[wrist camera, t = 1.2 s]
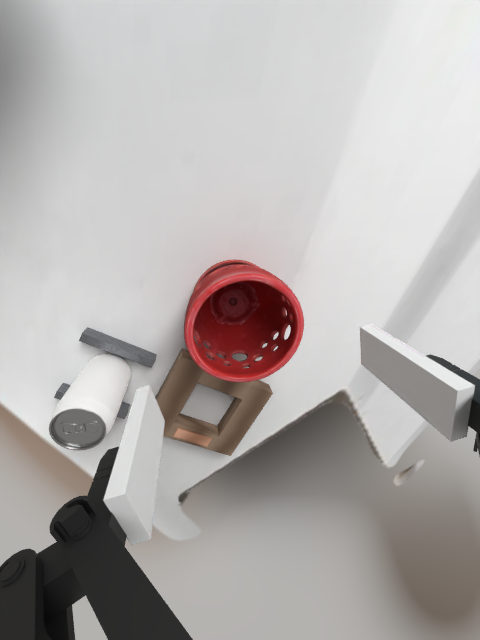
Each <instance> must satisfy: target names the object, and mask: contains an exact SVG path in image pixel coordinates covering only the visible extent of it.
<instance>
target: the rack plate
mask: <svg viewBox="0 0 480 640" xmlns="http://www.w3.org/2000/svg"><path fill="white" fill-rule="evenodd" d="M197 383H200V384H202V385H205V386H208V387H210V388H213V389H216V390H218V391H221V392H224V393H226V394H229V395H231V396H234V397H235V399H234V400H233V402H232V404H231V405H230V407H229V408H228V410H227V412H226V413H225V415H224V416H223V418H222V419H221V421H220V423H219V424H218V426H216V425H213V424H210V423H207V422H204V421H201V420H198V419H195V418H192V417H189V416H186V415H183V414H180V411H181V410H182V408H183V406H184V404H185V403H186V401H187V399H188V398H189V396H190V394H191V393H192V391H193V389H194V387H195V386H196V384H197ZM272 394H273V393H272V391H271V389H270V386H269V384H266V383H264V382H261V381H259V380H255V381H250V382H230V381H225V380H221V379H219V378H216V377H214V376H212V375H210V374H208V373H206V372H205V371H204V370H202V369H201V368H200V367H199V366H198V365H197V364H196V363H195V361H194V360H193V359H192V357H191V355H190V354H189V352H188V351H187V350H184V349H182V350H181V352H180V353H179V355H178V357H177V359H176V361H175V363H174V364H173V366H172V368H171V370H170V372H169V374H168V375H167V377H166V379H165V381H164V383H163V385H162V386H161V388H160V390H159V392H158V394H157V395H156V397H155V398H156V401H157V403H158V406H159V408H160V410H161V413H162V415H163V418H164V420H165V424H164V432H163V436H165V437H169V438H172V439H175V440H179V441H182V442H186V443H189V444H192V445H196V446H199V447H202V448H206V449H209V450H212V451H216V452H219V453H223V454H226V455H229V456H231V455H232V453H233V452H234V450H235V449H236V447H237V446H238V444H239V443H240V441H241V440H242V438H243V437H244V435H245V434H246V432H247V431H248V429H249V428H250V426H251V425H252V423H253V422H254V421H255V419H256V418H257V416H258V415H259V413H260V412H261V410H262V409H263V407H264V406H265V404H266V403H267V401H268V400H269V398H270V397H271V395H272Z"/></svg>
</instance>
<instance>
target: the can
mask: <svg viewBox="0 0 480 640" xmlns="http://www.w3.org/2000/svg"><path fill="white" fill-rule="evenodd" d="M130 378H131V371H130V367H129V365H128V364H127V363H126V361H125V360H123V359H122V358H120V357H118V356H116V355H112V354H100V355H97V356H95V357H93V358H91V359H90V360H89V361H88V362H87V363H86V365H85V366H84V368H83V369H82V370H81V372H80V373H79V375H78V376H77V377H76V379H75V380H74V382H73V383H72V384H71V386H70V387H69V389H68V390H67V392H66V393H65V394H64V396H63V397H62V399H61V400H60V402H59V403H58V405H57V406H56V408H55V409H54V411H53V414H52V421H51V422H50V425H49V432H50V435H51V437H52V439H53V440H54V441H55V442H56V443H57V444H59V445H60V446H62V447H64V448H67V449H71V450H86V449H90V448H93V447H95V446H97V445H98V444H99V443H100V442H101V441H102V440H103V439H104V437H105V436H106V435H107V434H108V433H109V432H110V430H111V428H112V427H113V424H114V422H115V419H116V417H117V414H118V411H119V409H120V406H121V403H122V401H123V398H124V395H125V392H126V390H127V387H128V384H129V381H130Z"/></svg>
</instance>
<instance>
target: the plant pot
mask: <svg viewBox="0 0 480 640" xmlns="http://www.w3.org/2000/svg"><path fill="white" fill-rule="evenodd" d="M286 311H287V316H286ZM289 325H290V327H291V332H290V335H289V337H288V339H286V340H285V339H284V334H285V331H286V328H287V327H288V326H289ZM303 329H304V318H303V312H302V309H301V306H300V303H299V301H298V299H297V297H296V296H295V294H294V293H293V292H292V290H291V289H290V288H289V287H288V286H287V285H286V284H285V283H284V282H283V281H282V280H280V279H279V278H277V277H276V276H274V275H273V274H271V273H270V272H268V271H266V270H264V269H261V268H259V267H258V266H256V265H254V264H252V263H250V262H247V261H243V260H227V261H223V262H220V263H217V264H215V265H214V266H212V267H211V268H209V269H208V270H207V271H206V272H205V273H204V274H203V275H202V276H201V277H200V279H199V280H198V282H197V284H196V286H195V289H194V292H193V294H192V295H191V298H190V301H189V304H188V307H187V311H186V315H185V323H184V338H185V343H186V347H187V349H188V352H189V354H190V355H191V357H192V359H193V360H194V361H195V363H196V364H197V365H198V366H199V367H200V368H201V369H202V370H204V371H205V372H206V373H208V374H210V375H212V376H214V377H216V378H219V379H221V380H225V381H230V382H250V381H255V380H259V379H262V378H265V377H267V376H269V375H271V374H273V373H274V372H276V371H277V370H279V369H280V368H282V367H283V366H284V365H285V364H286V363H287V362H288V361H289V360H290V359H291V357H292V356H293V355H294V353H295V352H296V350H297V348H298V346H299V344H300V341H301V338H302V335H303ZM277 332H279V335H278V337H277V338H276V339H275V340H273V337H274V335H275V334H276V333H277ZM194 336H195V338H196V341H197V343H196V341H195V338H194ZM203 343H205V344H206V345H207V346H208V348H209V349H207V348H206V347H205V346H204V344H203ZM265 343H268V344H267V346H266V347H264V348H262V346H263V344H265ZM276 346H278V348H277V349H276V350H275V351H273V350H274V348H275V347H276ZM236 353H242V354H245V355H246V356H247V359H246V360H243V361H237V360H235V359H233V358H232V355H233V354H236ZM217 354H219V355H222V356H223V357H224V358H220V357H218V356H217ZM207 355H208V356H209V357H211V359H212V360H211V359H210V358H208V357H207ZM258 357H263V358H262V359H261V360H260V361H255V359H257V358H258ZM224 364H226V365H228V366H226V365H224ZM246 366H247V367H249V368H243V367H246Z"/></svg>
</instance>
